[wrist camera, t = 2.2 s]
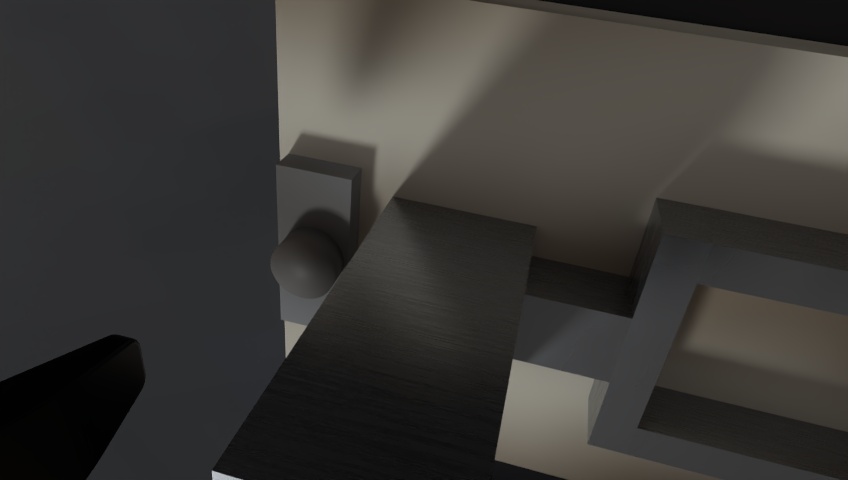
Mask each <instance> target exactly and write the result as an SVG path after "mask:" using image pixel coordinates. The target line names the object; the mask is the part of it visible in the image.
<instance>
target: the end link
mask: <svg viewBox="0 0 848 480" xmlns="http://www.w3.org/2000/svg"><path fill="white" fill-rule="evenodd" d="M536 228H537V226H533V225H529V224H524V223H519V222H514V221H509V220H504V219H500V218H495V217H490V216H485V215H480V214H475V213H471V212H466V211H461V210H456V209H451V208H446V207H442V206H437V205H432V204H427V203H422V202H417V201H412V200H408V199H403V198H398V197H392V198H391V200H390V201H389V203H388V204H387V206H386V207H385V209H384V210H383V212H382V213H381V215H380V216H379V218H378V219H377V221H376V222H375V224H374V225H373V227H372V229H371V230H370V232H369V233H368V235H367V236H366V238H365V239H364V241H363V242H362V244H361V245H360V247H359V248H358V250H357V251H356V253H355V254H354V256H353V257H352V259H351V260H350V262H349V263H348V265H347V266H346V268H345V269H344V271H343V272H342V274H341V275H340V277H339V279H338V280H337V282H336V283H335V285H334V286H333V288H332V289H331V291H330V292H329V294H328V295H327V297H326V298H325V300H324V301H323V303H322V304H321V306H320V307H319V309H318V310H317V312H316V313H315V315H314V316H313V318H312V319H311V321H310V322H309V324H308V326H307V327H306V329H305V330H304V332H303V333H302V335H301V336H300V338H299V339H298V341H297V342H296V344H295V345H294V347H293V348H292V350H291V351H290V353H289V354H288V356H287V357H286V359H285V360H284V362H283V363H282V365H281V366H280V368H279V369H278V371H277V372H276V374H275V376H274V377H273V379H272V380H271V382H270V383H269V385H268V386H267V388H266V389H265V391H264V392H263V394H262V395H261V397H260V398H259V400H258V401H257V403H256V404H255V406H254V407H253V409H252V410H251V412H250V413H249V415H248V416H247V418H246V419H245V421H244V422H243V424H242V426H241V427H240V429H239V430H238V432H237V433H236V435H235V436H234V438H233V439H232V441H231V442H230V444H229V445H228V447H227V448H226V450H225V451H224V453H223V454H222V456H221V457H220V459H219V460H218V462H217V463H216V465H215V466H214V468H213V469H212V477H213V480H491V477H492V472H493V466H494V461H495V455H496V450H497V444H498V438H499V433H500V427H501V422H502V416H503V411H504V405H505V400H506V394H507V389H508V383H509V378H510V372H511V366H512V361H513V359H515V360H519V361H523V362H527V363H531V364H535V365H539V366H543V367H548V368H552V369H556V370H560V371H564V372H568V373H572V374H576V375H580V376H585V377H589V378H593V379H594V382H593V385H592V388H591V391H590V394H589V397H588V441H587V444H588V445H592V446H596V447H600V448H604V449H607V450H611V451H615V452H619V453H623V454H627V455H631V456H634V457H638V458H642V459H646V460H650V461H654V462H657V463H661V464H665V465H669V466H673V467H677V468H681V469H684V470H688V471H692V472H696V473H700V474H704V475H708V476H711V477H715V478H719V479H723V480H848V432H846V431H842V430H837V429H833V428H829V427H825V426H821V425H817V424H812V423H808V422H804V421H800V420H796V419H792V418H788V417H783V416H779V415H775V414H771V413H767V412H763V411H758V410H754V409H750V408H746V407H742V406H738V405H734V404H729V403H725V402H721V401H717V400H713V399H709V398H704V397H700V396H696V395H692V394H688V393H684V392H680V391H675V390H671V389H667V388H663V387H659V386H655V384H656V381H657V379H658V376H659V374H660V372H661V369H662V367H663V364H664V362H665V360H666V357H667V355H668V352H669V350H670V348H671V345H672V343H673V340H674V338H675V336H676V333H677V331H678V328H679V326H680V324H681V321H682V319H683V316H684V314H685V312H686V309H687V307H688V304H689V302H690V300H691V297H692V295H693V292H694V290H695V288H696V285H697V284H700V285H705V286H709V287H714V288H719V289H723V290H728V291H733V292H738V293H742V294H747V295H752V296H756V297H761V298H766V299H770V300H775V301H780V302H785V303H789V304H794V305H799V306H803V307H808V308H813V309H817V310H822V311H827V312H832V313H836V314H841V315H846V316H848V234H843V233H838V232H833V231H828V230H822V229H817V228H812V227H807V226H802V225H797V224H791V223H786V222H781V221H776V220H771V219H765V218H760V217H755V216H750V215H745V214H740V213H734V212H729V211H724V210H719V209H714V208H709V207H703V206H698V205H693V204H688V203H683V202H678V201H672V200H667V199H662V198H657V197H656V200H655V203H654V206H653V209H652V212H651V215H650V217H649V220H648V223H647V226H646V229H645V232H644V235H643V238H642V241H641V244H640V247H639V250H638V253H637V256H636V259H635V262H634V264H633V267H632V270H631V273H630V276H629V277H628V276H624V275H619V274H614V273H610V272H605V271H600V270H596V269H591V268H586V267H582V266H577V265H572V264H568V263H563V262H558V261H554V260H549V259H544V258H540V257H535V256H532V250H533V245H534V239H535V234H536Z"/></svg>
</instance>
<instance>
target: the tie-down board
mask: <svg viewBox="0 0 848 480" xmlns="http://www.w3.org/2000/svg"><path fill="white" fill-rule="evenodd" d="M276 35H277V69H278V103H279V138H280V161H279V162H278V163H277V164H276V181H277V211H278V241H279V246H278V247H277V248H276V249H275V250H274V252H273V253H272V256H271V263H270V264H271V270H272V273H273V275H274V277H275V279H276V280H277V282H278V283H279V284H280V301H281V320H285V344H286V357H287V356H288V354H289V353H290V351H291V350H292V348H293V347H294V345H295V344H296V342H297V341H298V339H299V338H300V336H301V335H302V333H303V332H304V330H305V329H306V327H307V326H308V324H309V322H310V321H311V319H312V318H313V316H314V315H315V313H316V312H317V310H318V309H319V307H320V306H321V304H322V303H323V301H324V300H325V298H326V297H327V295H328V294H329V292H330V291H331V289H332V288H333V286H334V285H335V283H336V282H337V280H338V279H339V277H340V275H341V274H342V272H343V271H344V269H345V268H346V266H347V265H348V263H349V262H350V260H351V259H352V257H353V256H354V254H355V253H356V251H357V250H358V248H359V247H360V245H361V244H362V242H363V241H364V239H365V238H366V236H367V235H368V233H369V232H370V230H371V229H372V227H373V225H374V224H375V222H376V221H377V219H378V218H379V216H380V215H381V213H382V212H383V210H384V209H385V207H386V206H387V204H388V203H389V201H390V200H391V198H392V197H398V198H403V199H408V200H412V201H417V202H422V203H427V204H432V205H437V206H442V207H446V208H451V209H456V210H461V211H466V212H471V213H475V214H480V215H485V216H490V217H495V218H500V219H504V220H509V221H514V222H519V223H524V224H529V225H533V226H537V228H536V234H535V239H534V245H533V250H532V256H535V257H540V258H544V259H549V260H554V261H558V262H563V263H568V264H572V265H577V266H582V267H586V268H591V269H596V270H600V271H605V272H610V273H614V274H619V275H624V276H628V277H629V276H630V273H631V270H632V267H633V264H634V262H635V259H636V256H637V253H638V250H639V247H640V244H641V241H642V238H643V235H644V232H645V229H646V226H647V223H648V220H649V217H650V215H651V212H652V209H653V206H654V203H655V200H656V197H657V198H662V199H667V200H672V201H678V202H683V203H688V204H693V205H698V206H703V207H709V208H714V209H719V210H724V211H729V212H734V213H740V214H745V215H750V216H755V217H760V218H765V219H771V220H776V221H781V222H786V223H791V224H797V225H802V226H807V227H812V228H817V229H822V230H828V231H833V232H838V233H843V234H848V46H843V45H836V44H829V43H822V42H816V41H809V40H802V39H795V38H789V37H782V36H775V35H768V34H762V33H755V32H748V31H741V30H735V29H728V28H721V27H714V26H708V25H701V24H694V23H687V22H681V21H674V20H667V19H660V18H654V17H647V16H640V15H633V14H627V13H620V12H613V11H606V10H600V9H593V8H586V7H579V6H573V5H566V4H559V3H552V2H546V1H539V0H276ZM593 382H594V379H593V378H589V377H585V376H580V375H576V374H572V373H568V372H564V371H560V370H556V369H552V368H548V367H543V366H539V365H535V364H531V363H527V362H523V361H519V360H515V359H513V361H512V366H511V372H510V378H509V383H508V389H507V394H506V400H505V405H504V411H503V416H502V422H501V427H500V433H499V438H498V444H497V450H496V455H495V460H497V461H501V462H505V463H508V464H512V465H516V466H519V467H523V468H527V469H530V470H534V471H538V472H542V473H545V474H549V475H553V476H556V477H560V478H564V479H568V480H723V479H719V478H715V477H711V476H708V475H704V474H700V473H696V472H692V471H688V470H684V469H681V468H677V467H673V466H669V465H665V464H661V463H657V462H654V461H650V460H646V459H642V458H638V457H634V456H631V455H627V454H623V453H619V452H615V451H611V450H607V449H604V448H600V447H596V446H592V445H588V444H587V441H588V397H589V394H590V391H591V388H592V385H593ZM655 386H659V387H663V388H667V389H671V390H675V391H680V392H684V393H688V394H692V395H696V396H700V397H704V398H709V399H713V400H717V401H721V402H725V403H729V404H734V405H738V406H742V407H746V408H750V409H754V410H758V411H763V412H767V413H771V414H775V415H779V416H783V417H788V418H792V419H796V420H800V421H804V422H808V423H812V424H817V425H821V426H825V427H829V428H833V429H837V430H842V431H846V432H848V316H846V315H841V314H836V313H832V312H827V311H822V310H817V309H813V308H808V307H803V306H799V305H794V304H789V303H785V302H780V301H775V300H770V299H766V298H761V297H756V296H752V295H747V294H742V293H738V292H733V291H728V290H723V289H719V288H714V287H709V286H705V285H700V284H697V285H696V288H695V290H694V292H693V295H692V297H691V300H690V302H689V304H688V307H687V309H686V312H685V314H684V316H683V319H682V321H681V324H680V326H679V328H678V331H677V333H676V336H675V338H674V340H673V343H672V345H671V348H670V350H669V352H668V355H667V357H666V360H665V362H664V364H663V367H662V369H661V372H660V374H659V376H658V379H657V381H656V384H655Z"/></svg>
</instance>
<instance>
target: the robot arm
mask: <svg viewBox="0 0 848 480" xmlns="http://www.w3.org/2000/svg"><path fill="white" fill-rule="evenodd" d="M145 377H146V374H145V368H144V363H143V358H142V353H141V348H140V344H139V343H138V341H137V340H135V339H133V338H129V337H125V336H121V335H110V336H107V337H105V338H102V339H100V340H98V341H95V342H93V343H90V344H88V345H86V346H83V347H81V348H79V349H76V350H74V351H72V352H69V353H67V354H65V355H62V356H60V357H57V358H55V359H53V360H50V361H48V362H46V363H43V364H41V365H39V366H36V367H34V368H32V369H29V370H27V371H24V372H22V373H20V374H17V375H15V376H13V377H10V378H8V379H6V380H3V381H1V382H0V480H86V479H87V477H88V476H89V474H90V473H91V472H92V470H93V469H94V467H95V466H96V464H97V463H98V461H99V460H100V458H101V456H102V455H103V453H104V451H105V450H106V448H107V447H108V445H109V443H110V442H111V440H112V438H113V437H114V435H115V433H116V432H117V430H118V428H119V427H120V425H121V423H122V422H123V420H124V418H125V417H126V415H127V413H128V412H129V410H130V408H131V407H132V405H133V404H134V402H135V400H136V399H137V397H138V395H139V394H140V392H141V390H142V388H143V386H144V383H145Z"/></svg>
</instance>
